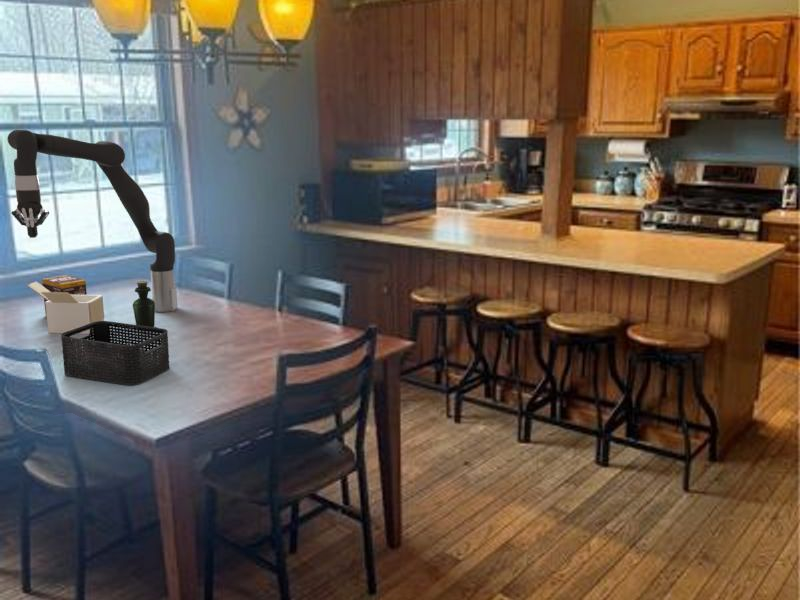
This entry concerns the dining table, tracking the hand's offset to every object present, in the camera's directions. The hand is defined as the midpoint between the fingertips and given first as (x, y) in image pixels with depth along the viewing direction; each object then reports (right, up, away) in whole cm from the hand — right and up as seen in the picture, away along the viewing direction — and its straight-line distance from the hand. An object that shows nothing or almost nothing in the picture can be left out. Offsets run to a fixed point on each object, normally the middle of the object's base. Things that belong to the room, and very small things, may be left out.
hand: (33, 237), depth 254 cm
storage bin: (+40, -46, -26) cm, 66 cm away
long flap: (+7, -21, +6) cm, 23 cm away
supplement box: (-5, -29, +36) cm, 47 cm away
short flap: (-5, -19, +16) cm, 25 cm away
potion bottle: (+32, -33, +23) cm, 51 cm away
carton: (+7, -33, +19) cm, 39 cm away
